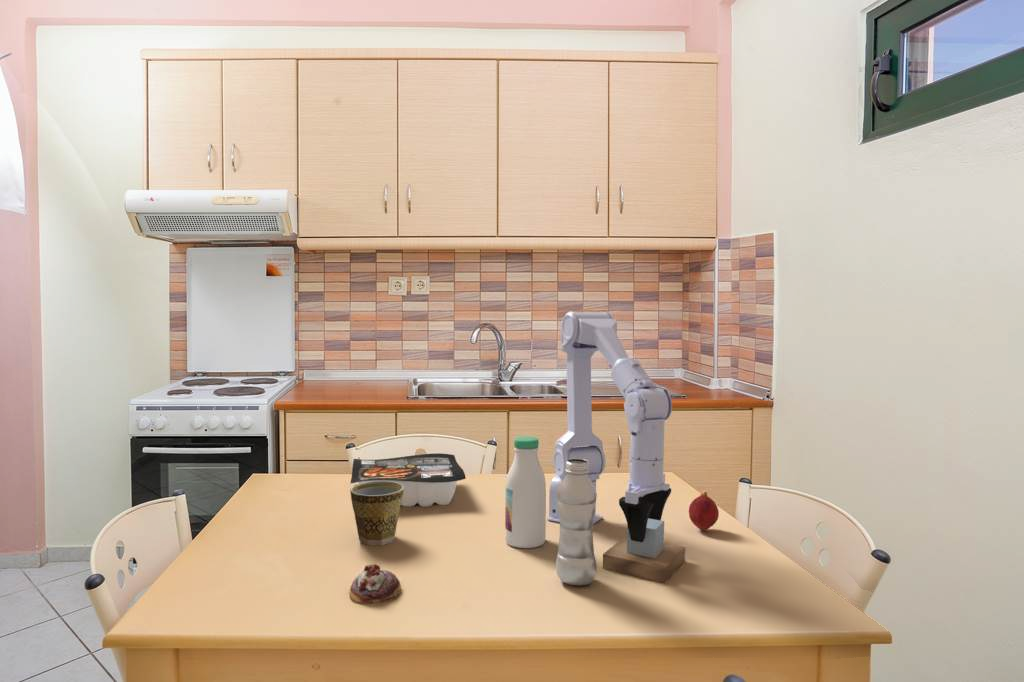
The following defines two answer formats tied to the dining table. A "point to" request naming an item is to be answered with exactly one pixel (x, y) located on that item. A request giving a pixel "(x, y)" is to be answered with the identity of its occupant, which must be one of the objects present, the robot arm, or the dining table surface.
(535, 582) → the dining table surface
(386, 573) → the pastry
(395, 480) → the food packaging
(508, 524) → the milk bottle
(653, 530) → the cube
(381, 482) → the ceramic cup
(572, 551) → the plastic bottle
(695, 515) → the onion
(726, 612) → the dining table surface
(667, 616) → the dining table surface
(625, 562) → the base
